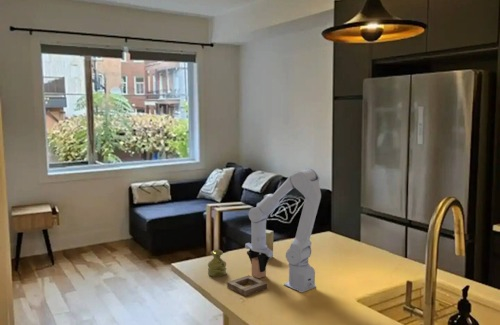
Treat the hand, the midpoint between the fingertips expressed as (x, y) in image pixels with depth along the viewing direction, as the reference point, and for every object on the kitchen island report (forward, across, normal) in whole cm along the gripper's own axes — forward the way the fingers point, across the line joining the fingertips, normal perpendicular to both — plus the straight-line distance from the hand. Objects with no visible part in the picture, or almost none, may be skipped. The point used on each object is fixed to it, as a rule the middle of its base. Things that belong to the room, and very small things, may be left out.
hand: (258, 269), depth 175 cm
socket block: (+3, -6, +11) cm, 13 cm away
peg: (+2, 0, 0) cm, 2 cm away
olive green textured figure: (+3, +13, +11) cm, 17 cm away
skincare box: (+3, +15, -17) cm, 23 cm away
